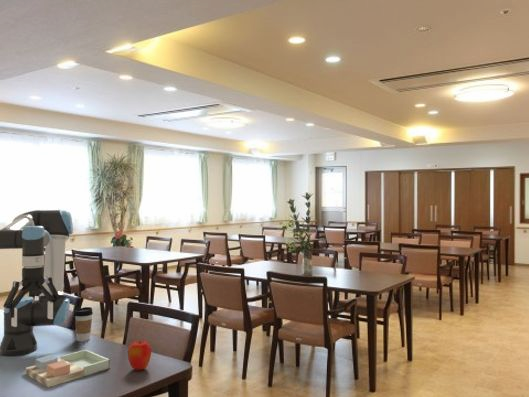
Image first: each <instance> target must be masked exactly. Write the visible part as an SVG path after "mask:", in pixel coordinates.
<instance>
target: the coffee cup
mask: <svg viewBox="0 0 529 397" xmlns="http://www.w3.org/2000/svg"><path fill="white" fill-rule="evenodd" d="M93 315H94V313H93V308H92V307H90V306H85V307H80V308H77V309H75V311H74V316H75V317H74V318H75V320H74V321H75V322H74V323H75V332H76V333H75V334H76V341H77V342H87V341H89V340H90V339H91V332H92V321H93Z"/></svg>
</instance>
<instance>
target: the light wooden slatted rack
mask: <svg viewBox="0 0 529 397" xmlns="http://www.w3.org/2000/svg"><path fill="white" fill-rule="evenodd" d="M60 361H64V362H66V363H68V364H70V372H69V373H66V374H63V375H59V376H56V377H54V376H52V375H50V374H48V373H47V369H45V370H41V369H39V368H37V367H35V365H31V366H27V367H25V375H27V376H28V377H29V378H31V379H33V380H35V381H37V382H39V383H40V384H41V385H43V386H45V387H47V388H51V387H53V386H56V385H59V384H63V383H67V382H69V381H72V380H76V379H79V378H82V377H85V376H84V369H82V368H80V367H78V366H76V365H74V364H71V363H69V362H67V361H65V360H63V359H61V358H58V362H60ZM50 386H51V387H50Z"/></svg>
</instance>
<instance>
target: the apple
mask: <svg viewBox="0 0 529 397" xmlns="http://www.w3.org/2000/svg"><path fill="white" fill-rule="evenodd" d="M127 356H128V362H129V364H130V367H131V368H132V369H134V370H135V371H137V370H140V371H143V370H142V369H144V370H145V369H146V368H147V367H148V366H149V363H150V360H151V356H152V348H151V345H150V344H149V343H148V342H147V341H145V340H143V341H142V340H137V341H133V342H132V343H131V344H130V345H129V347H128V349H127Z"/></svg>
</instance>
